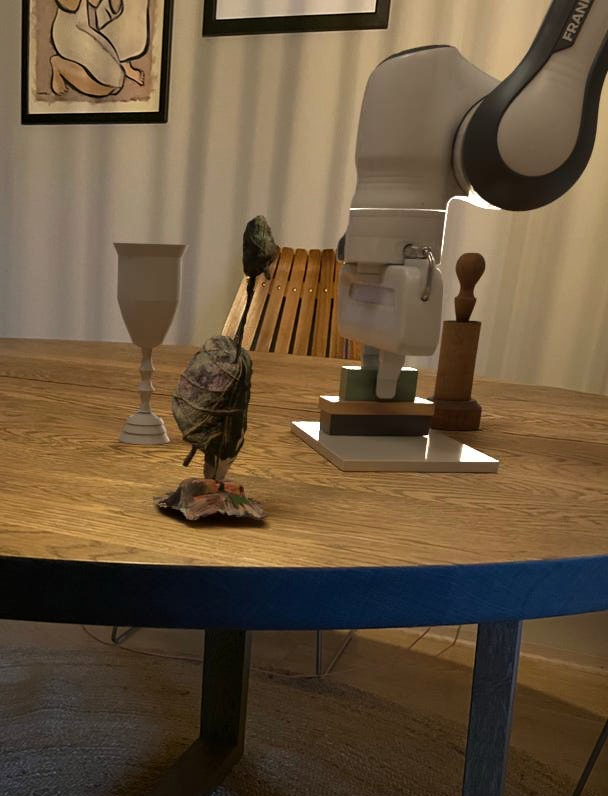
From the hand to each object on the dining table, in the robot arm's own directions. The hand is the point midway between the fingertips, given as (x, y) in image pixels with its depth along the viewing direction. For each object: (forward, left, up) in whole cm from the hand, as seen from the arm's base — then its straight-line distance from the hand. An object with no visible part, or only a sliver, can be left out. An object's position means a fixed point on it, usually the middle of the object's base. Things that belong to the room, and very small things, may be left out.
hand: (377, 394), depth 102 cm
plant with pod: (+21, +28, -5) cm, 35 cm away
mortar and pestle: (-12, -11, -5) cm, 17 cm away
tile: (0, +4, -5) cm, 6 cm away
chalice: (+23, 0, -5) cm, 24 cm away
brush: (0, 0, -4) cm, 4 cm away
